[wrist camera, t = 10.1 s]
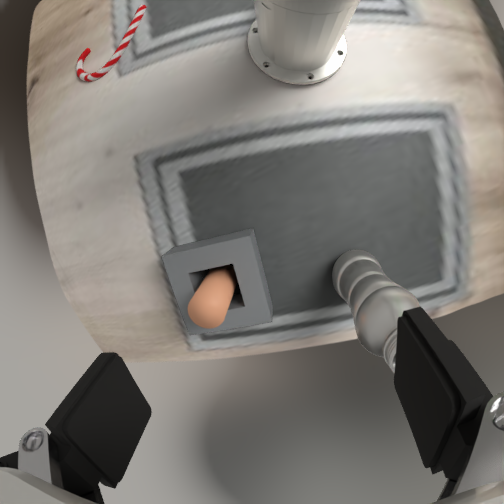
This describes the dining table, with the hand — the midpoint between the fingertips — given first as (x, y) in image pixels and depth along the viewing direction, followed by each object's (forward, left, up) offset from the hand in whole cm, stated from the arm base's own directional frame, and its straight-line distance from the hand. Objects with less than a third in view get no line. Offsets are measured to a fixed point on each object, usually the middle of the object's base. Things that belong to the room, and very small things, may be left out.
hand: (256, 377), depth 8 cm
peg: (+6, -8, -29) cm, 30 cm away
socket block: (+6, -8, -29) cm, 30 cm away
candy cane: (-33, -16, -29) cm, 47 cm away
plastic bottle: (+9, +9, -29) cm, 31 cm away
